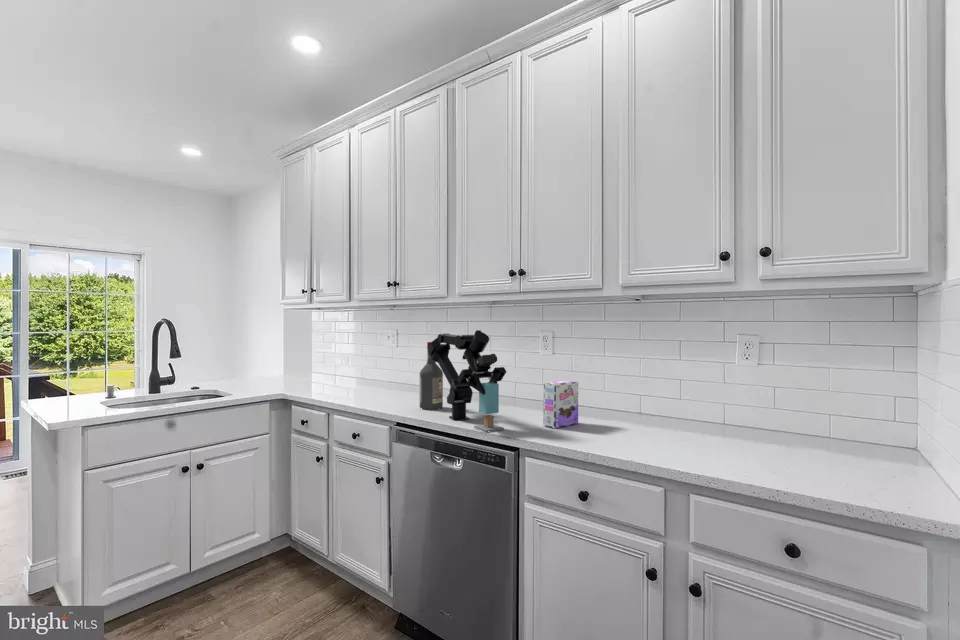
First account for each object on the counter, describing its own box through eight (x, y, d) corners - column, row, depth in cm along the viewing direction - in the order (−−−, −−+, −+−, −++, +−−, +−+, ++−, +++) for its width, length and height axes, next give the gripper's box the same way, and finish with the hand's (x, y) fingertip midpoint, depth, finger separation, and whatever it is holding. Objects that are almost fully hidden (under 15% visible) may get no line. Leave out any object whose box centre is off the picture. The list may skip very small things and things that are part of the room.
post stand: (473, 428, 173) (473, 415, 173) (491, 425, 177) (491, 413, 177) (485, 432, 166) (485, 419, 166) (504, 429, 170) (504, 416, 170)
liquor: (417, 409, 211) (417, 342, 211) (426, 405, 219) (426, 341, 220) (436, 410, 208) (436, 342, 208) (444, 406, 217) (444, 341, 217)
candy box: (554, 429, 172) (554, 384, 172) (542, 426, 176) (542, 382, 176) (578, 424, 180) (578, 381, 180) (567, 421, 185) (567, 379, 185)
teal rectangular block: (478, 411, 172) (479, 383, 172) (490, 410, 175) (490, 382, 175) (486, 414, 168) (486, 384, 168) (498, 412, 171) (498, 383, 171)
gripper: (461, 347, 170) (477, 381, 161) (503, 345, 180) (521, 377, 170) (450, 367, 177) (465, 400, 167) (492, 364, 186) (508, 396, 177)
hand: (490, 393), depth 170 cm, fingers closed on teal rectangular block, 5 cm apart
